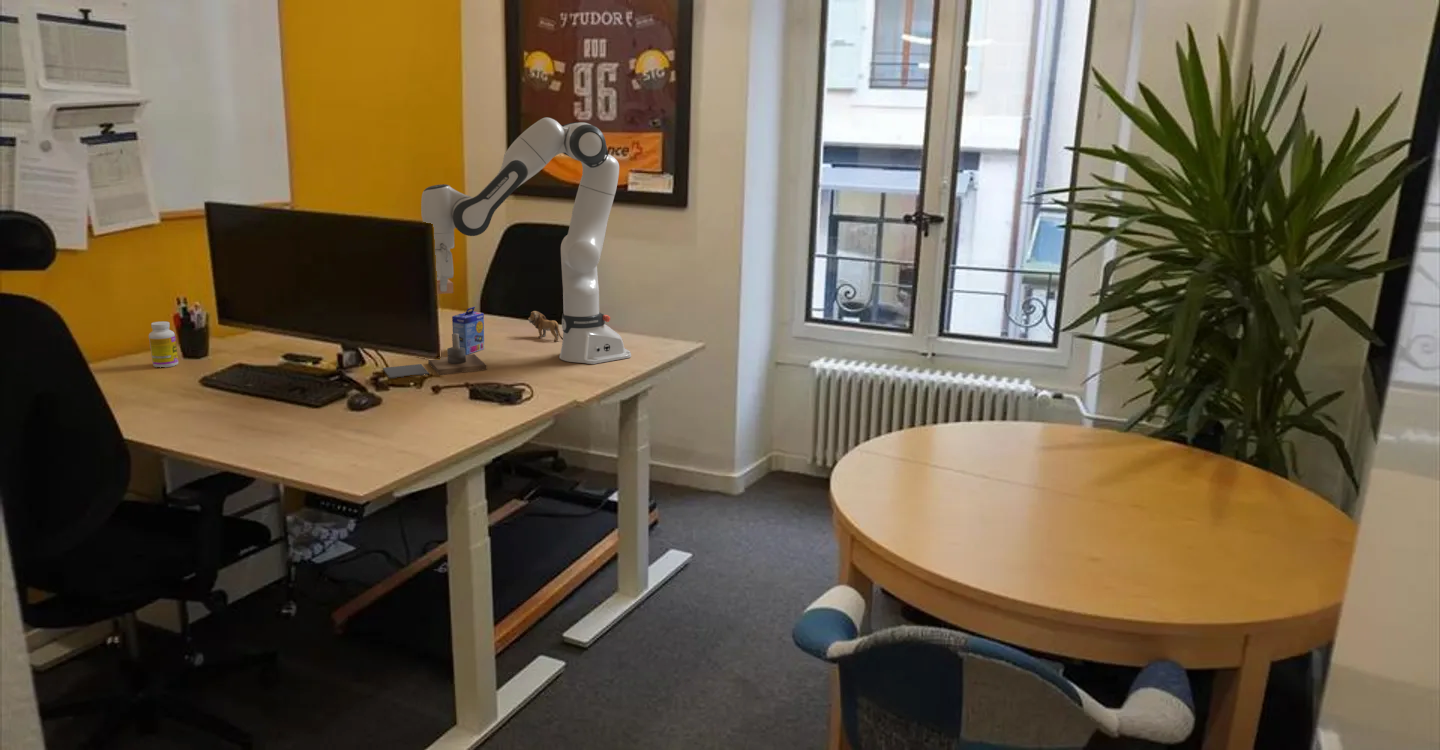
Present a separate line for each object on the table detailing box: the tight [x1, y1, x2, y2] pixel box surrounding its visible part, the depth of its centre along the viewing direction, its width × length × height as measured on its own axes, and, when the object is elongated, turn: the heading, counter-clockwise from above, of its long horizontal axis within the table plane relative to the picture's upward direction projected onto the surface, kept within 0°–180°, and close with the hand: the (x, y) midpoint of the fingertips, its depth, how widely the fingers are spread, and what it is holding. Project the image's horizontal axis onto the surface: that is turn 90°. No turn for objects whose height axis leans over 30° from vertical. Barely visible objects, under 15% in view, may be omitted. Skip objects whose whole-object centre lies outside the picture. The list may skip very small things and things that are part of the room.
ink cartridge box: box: [451, 306, 485, 355], centre depth 304 cm, size 10×6×14 cm, turn 157°
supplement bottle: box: [148, 320, 179, 369], centre depth 281 cm, size 7×7×13 cm
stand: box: [427, 333, 487, 376], centre depth 287 cm, size 14×14×10 cm
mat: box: [382, 363, 430, 379], centre depth 281 cm, size 11×11×1 cm
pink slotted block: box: [436, 279, 454, 295], centre depth 280 cm, size 6×6×3 cm
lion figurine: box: [527, 310, 563, 343], centre depth 324 cm, size 15×5×9 cm, turn 61°
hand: (440, 288), depth 280 cm, fingers closed on pink slotted block, 6 cm apart
